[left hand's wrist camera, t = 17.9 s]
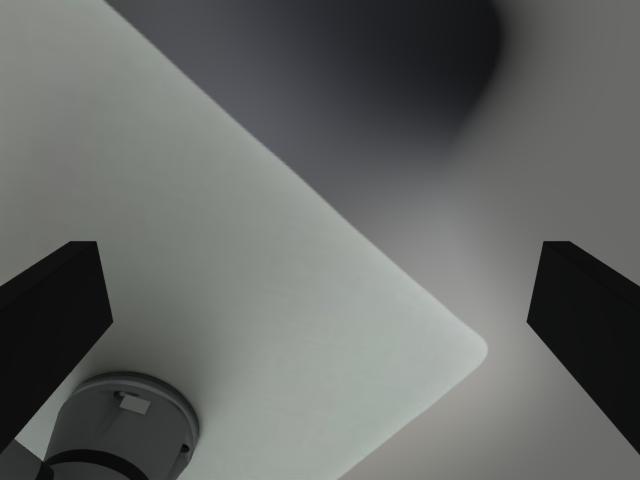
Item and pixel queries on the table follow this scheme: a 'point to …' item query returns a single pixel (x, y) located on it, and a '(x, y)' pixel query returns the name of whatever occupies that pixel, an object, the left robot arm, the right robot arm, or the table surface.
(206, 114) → the table surface
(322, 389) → the table surface
